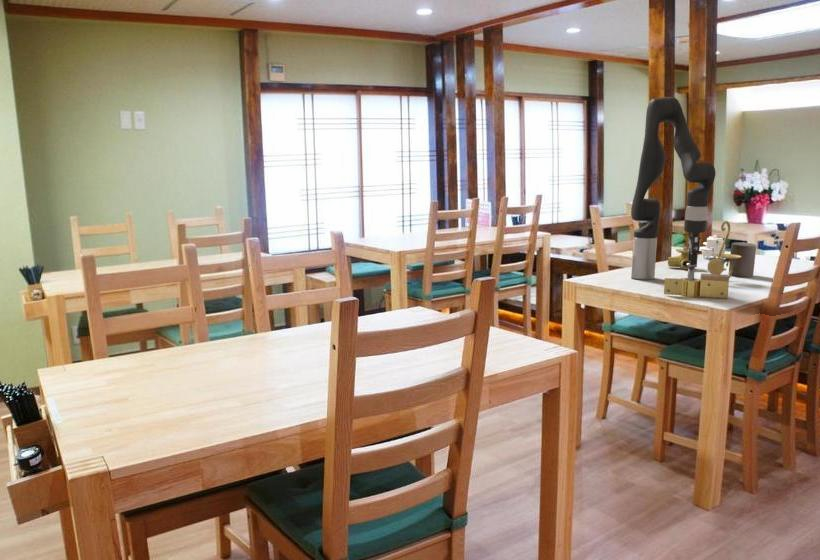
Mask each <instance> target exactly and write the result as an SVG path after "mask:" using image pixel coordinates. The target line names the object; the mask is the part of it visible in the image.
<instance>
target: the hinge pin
mask: <svg viewBox="0 0 820 560" xmlns="http://www.w3.org/2000/svg"><path fill="white" fill-rule="evenodd" d="M686 266H687V267H688V270H687V277H686V278H687V280H692V281H694V278H695V268H697V267H698V264H697V265H691V264H690V263H686Z"/></svg>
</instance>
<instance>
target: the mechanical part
mask: <svg viewBox="0 0 820 560" xmlns="http://www.w3.org/2000/svg"><path fill="white" fill-rule="evenodd" d="M723 241H724V238H722V237H717V234H713V235H711V236H708V237H707V238H706V241H704V242H703V243H702V245H705V246H700V249H699V252H701V255H702V256H703V257H702V259H705V257H706V259H709V260H710V257H713V258H712V259H717V256H716V255H717V254H719V251H720V248H721V246H722V243H723ZM725 252H726V244H725V245H724V248H723V250H722V253H721V254H726V253H725Z"/></svg>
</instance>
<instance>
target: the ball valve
mask: <svg viewBox="0 0 820 560" xmlns="http://www.w3.org/2000/svg"><path fill="white" fill-rule="evenodd" d="M675 251H676V252H678V253H679V254H680V255H679V256H668V259H667V267H670V268H671V267H672V268H680V269H682V270H683V269H688V267H687V266H686V263H690V261H689V260H688V257H689V251H690V250H689V249H688V246H683V249H682V248H681V249H680V248H676V249H675Z"/></svg>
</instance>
